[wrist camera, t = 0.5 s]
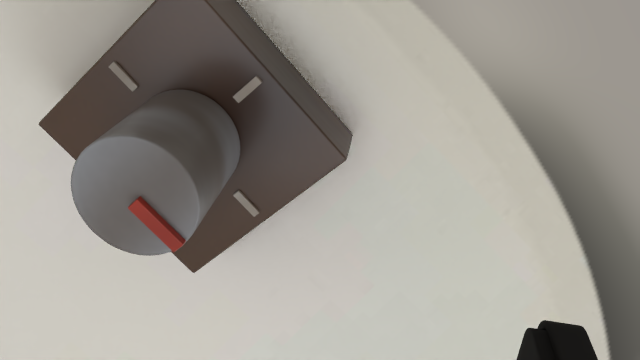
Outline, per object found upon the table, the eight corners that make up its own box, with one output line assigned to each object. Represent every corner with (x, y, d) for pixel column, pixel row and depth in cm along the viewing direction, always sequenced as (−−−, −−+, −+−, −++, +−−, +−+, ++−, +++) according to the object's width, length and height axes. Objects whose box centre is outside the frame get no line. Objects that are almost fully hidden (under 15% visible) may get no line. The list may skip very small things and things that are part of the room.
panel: (71, 103, 29) (35, 125, 26) (205, -35, 25) (179, -28, 22) (211, 242, 31) (192, 276, 29) (353, 134, 28) (347, 161, 25)
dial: (114, 133, 26) (39, 191, 21) (184, 65, 24) (122, 111, 19) (190, 209, 27) (137, 282, 22) (263, 150, 25) (224, 214, 20)
